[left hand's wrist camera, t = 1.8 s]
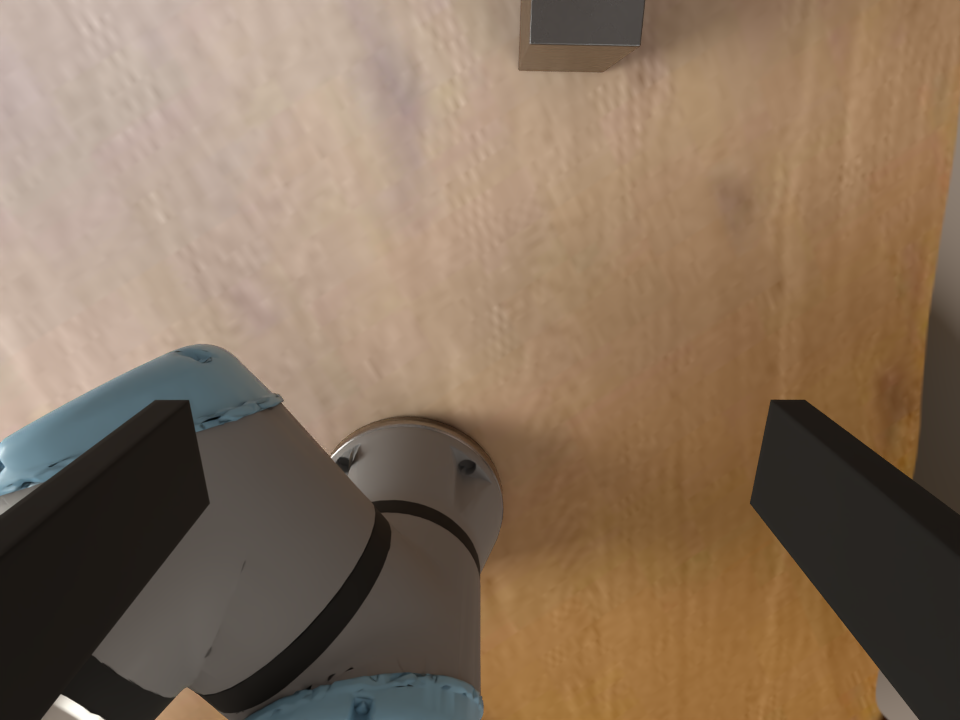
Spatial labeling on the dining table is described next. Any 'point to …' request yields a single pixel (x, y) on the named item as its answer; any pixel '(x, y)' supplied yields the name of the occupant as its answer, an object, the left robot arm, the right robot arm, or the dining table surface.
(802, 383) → the dining table surface
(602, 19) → the bar
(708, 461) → the dining table surface
